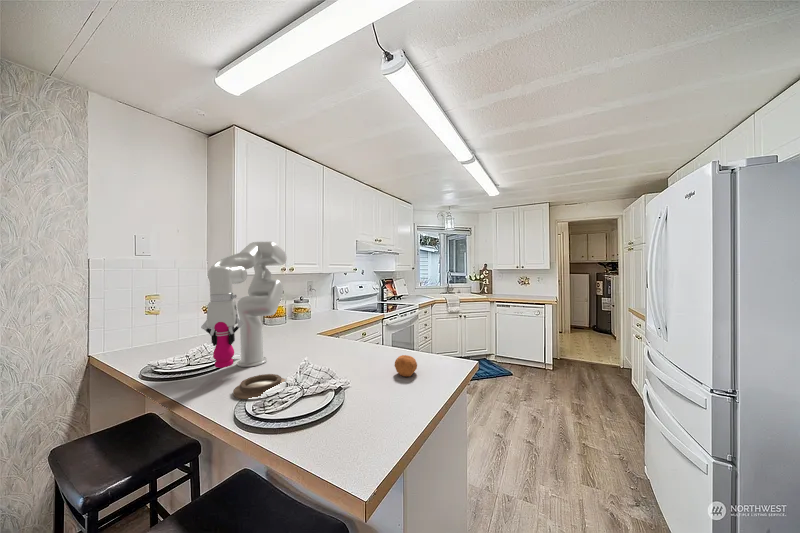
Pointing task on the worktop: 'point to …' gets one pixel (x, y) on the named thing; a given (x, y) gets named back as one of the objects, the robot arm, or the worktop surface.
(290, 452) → the worktop surface
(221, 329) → the pepper mill
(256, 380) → the round tray
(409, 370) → the potato
